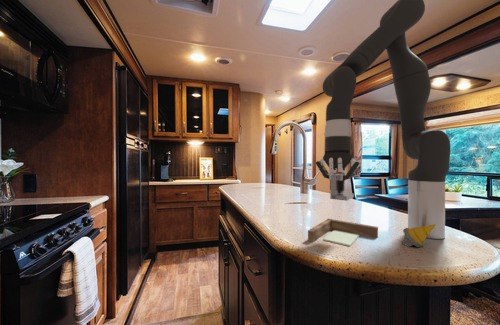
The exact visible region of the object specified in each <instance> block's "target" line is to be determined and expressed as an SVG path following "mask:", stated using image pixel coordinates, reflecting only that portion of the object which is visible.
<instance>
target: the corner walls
mask: <svg viewBox="0 0 500 325" xmlns="http://www.w3.org/2000/svg"><path fill="white" fill-rule="evenodd" d="M331 230H333V231H334V230H338V231H343V232H348V233H353V234H359V236H365V237H371V238H376V239H377V238H378V237H379V226H375V225H368V224H364V223H358V222H350V221H346V220H345V221H344V220H338V219H333V218H327V219H325V220H324V221H322V222H320V223H319V224H317V225H315V226H313V227H312V228H310V229H308V230H307V241H308V242H311V243H315V242H316V241H317V240H319V238H321V237H323V236H324V235H326V234H327V233H328V232H329V231H331Z"/></svg>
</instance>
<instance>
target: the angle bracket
mask: <svg viewBox="0 0 500 325" xmlns="http://www.w3.org/2000/svg"><path fill="white" fill-rule="evenodd" d="M344 191H345V190H344ZM344 191H343V192H342V193H339V173H336V174H335V175H331V190H330V200H335V201H336V200H338V201H345V202H346V201H349V200H351V199H353V198H354V197H355V194H354V193H355V192H354V193H351V192H344Z"/></svg>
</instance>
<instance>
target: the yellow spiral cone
mask: <svg viewBox="0 0 500 325" xmlns="http://www.w3.org/2000/svg"><path fill="white" fill-rule="evenodd" d="M435 226H436V224H433V225H428V226H422V227H416V228H410V229H409V228H408V227H406V228H404V229H402V232H403V234H404V237H403V238H404V239H403V241H402V244H403V243H404V244H403V245H405V244H406V245H405V246H407V245H408V246H407V247H409V246H410V247H412V246H413V245H414V246H415V247H417V248H420V247H423V243H424V241H425V240H426V239H427V238H426V237H427V235H429V234H430V232H431V231H432V230H433V228H434V227H435Z"/></svg>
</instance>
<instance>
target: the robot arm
mask: <svg viewBox="0 0 500 325" xmlns="http://www.w3.org/2000/svg"><path fill="white" fill-rule="evenodd" d="M425 11H426V5H425V2H424V0H397V1H396V2H395V3H394V4H393V5H392V6H391V7H389V9H387V11H386V12H385V13H384V14H383V15H382V16H381V18H380V20H379V26H378V27H377V28H376V29H375V30H374V31H373V32H372V33H371V34H369V35H368V36H367V37H366V38H365V39H364V40H363V41H362V42H360V43H359V44H358V45H357V47H355V48H354V49H353V51H352V52H351V53H350V54H349V55H347V57H346V58H345V59H344V60H343V62H342V63H341V64H340V65H339V66H337V67H336V68H334V69H333V71H332V72H331V73H329V74H328V75H327V76H326V77H325V79H324V81H323V83H322V90H323V93H324V94H325V95H326V96H327V97H331V99H330V101H329V102H328V103H327V105H326V108H325V125H324V126H325V127H324V134H323V135H324V154H323V155H322V156H323V157H322V159H320V160H319V161H318V160H317V161H315V165H316V167H317V168H318V170H319V171H320V173H321V175H322V176H323V178H325V179H328V180H329V190H330V191H331V175H335V174H339V193H342V192H343V191H345V181H347V180H349V179H351V178H352V177H353V176H354V174H355V173H356V172H357V171H358V169H359V168H360V167H361V164H362V162H361V161H357V160H356V159H354V157H353V154H352V123H351V116H352V115H351V111H352V110H351V106H352V103H353V100H354V97H355V96H354V95H355V91H356V86H357V78H358V77H360V76H361V75H363V74H364V72H366V71H367V70H368V69H369V68H370V67H371V66H372V64H373V63H374V62H375V61H376V60H377V59H378V58H379V57H380V56H381V55H382V54H383V53H384V52H385V51H386V53H387V57H388V61H389V66H390V70H391V74H392V75H391V76H392V80H393V86H394V91H395V96H396V100H397V107H398V113H399V117H400V124H401V125H400V126H401V141H402V149H403V150H404V153H405V155H406V156H407V157H408V158H410V159H412V160H416V161H417V160H418V162H417V165H416V167H414V169H412V170H410V171H409V172H408V175H407V176H408V177H407V179H408V180H407V181H408V182H407V191H408V192H407V228H409V229H410V228H416V227H422V226H428V225H433V224H436V226H435V227H434V228H433V230H432V231H431V232H430V234H429V235H427V237H426V239H433V240H434V239H435V240H440V239H442V240H443V239H445V238H446V176H447V175H448V173H449V170H450V161H451V140H450V137H449V136H448V134H447V133H446V132H445V131H443V130H442V129H441V130H440V129H426V126H425V125H426V124H425V110H426V106H427V104H428V101H429V98H430V96H431V94H430V93H431V89H432V88H431V87H432V84H431V79H430V74H429V69H428V66H427V64H426V63H425V61H423V60H422V59H421V58H420V57H418V55H416V54H415V53H413V52H412V51H411V50H410V47H409V45H408V42H407V38H406V32H407V31H409V30H410V29H411V28H413V27H414V26H416V24H418V22H420V21H421V20H422V18H423V16H424V14H425ZM325 165H326V166H327V167H328V170H327V167H325ZM349 165H350V168H349V170H348V172H346V168H347V167H348V166H349Z"/></svg>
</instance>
